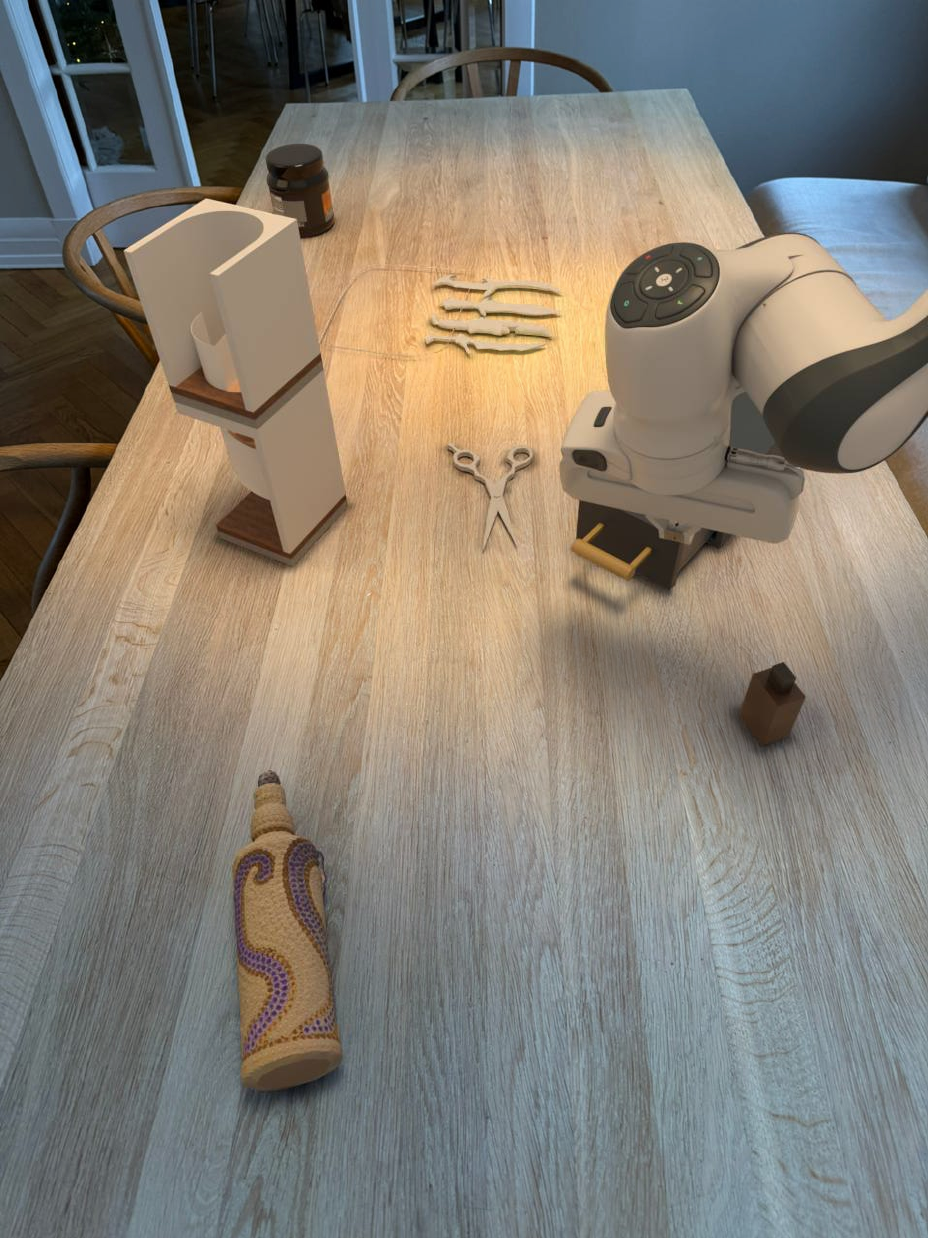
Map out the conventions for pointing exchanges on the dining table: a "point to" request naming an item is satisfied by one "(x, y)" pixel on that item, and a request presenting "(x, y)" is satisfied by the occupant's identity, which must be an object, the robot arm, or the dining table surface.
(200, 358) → the slotted cup holder tower
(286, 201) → the supplement container
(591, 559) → the drawer
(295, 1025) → the decorative bottle
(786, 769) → the dining table surface
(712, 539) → the cabinet
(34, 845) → the dining table surface
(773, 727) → the small brown bottle
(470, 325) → the driftwood wall hanging
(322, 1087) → the dining table surface
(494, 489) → the scissors
